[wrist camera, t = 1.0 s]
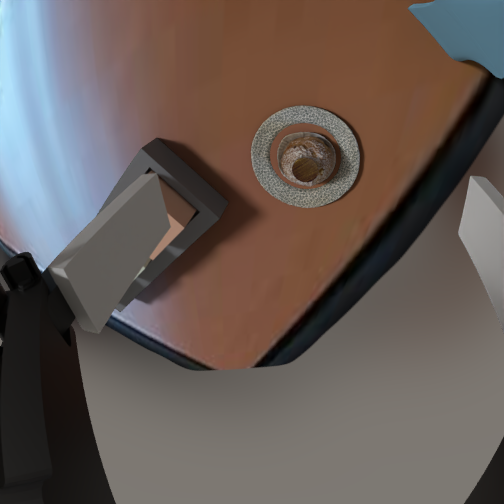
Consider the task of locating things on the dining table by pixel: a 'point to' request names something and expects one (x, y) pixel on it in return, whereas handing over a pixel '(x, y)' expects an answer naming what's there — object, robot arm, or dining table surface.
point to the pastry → (305, 157)
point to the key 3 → (173, 214)
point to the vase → (467, 29)
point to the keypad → (188, 187)
